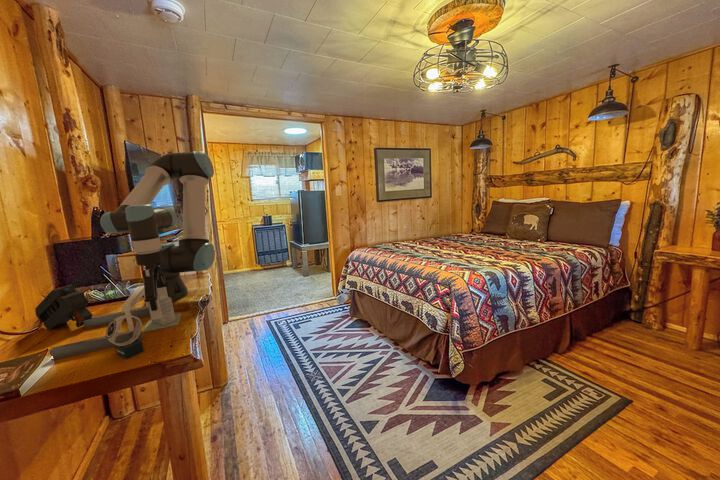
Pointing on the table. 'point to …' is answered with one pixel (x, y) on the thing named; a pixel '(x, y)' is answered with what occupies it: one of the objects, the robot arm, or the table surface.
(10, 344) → the table surface
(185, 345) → the table surface
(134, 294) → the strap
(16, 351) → the table surface
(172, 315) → the medicine box
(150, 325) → the mat
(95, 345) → the rails
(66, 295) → the tool
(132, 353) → the watch
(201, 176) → the robot arm
